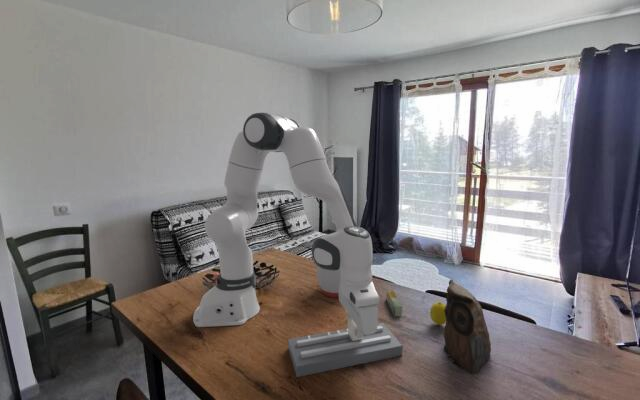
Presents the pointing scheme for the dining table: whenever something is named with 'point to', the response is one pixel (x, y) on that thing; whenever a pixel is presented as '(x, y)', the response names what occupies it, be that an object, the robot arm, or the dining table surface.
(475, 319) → the owl
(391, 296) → the medication box
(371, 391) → the dining table surface
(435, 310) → the lemon
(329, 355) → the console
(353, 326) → the fader
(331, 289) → the citrus juicer
